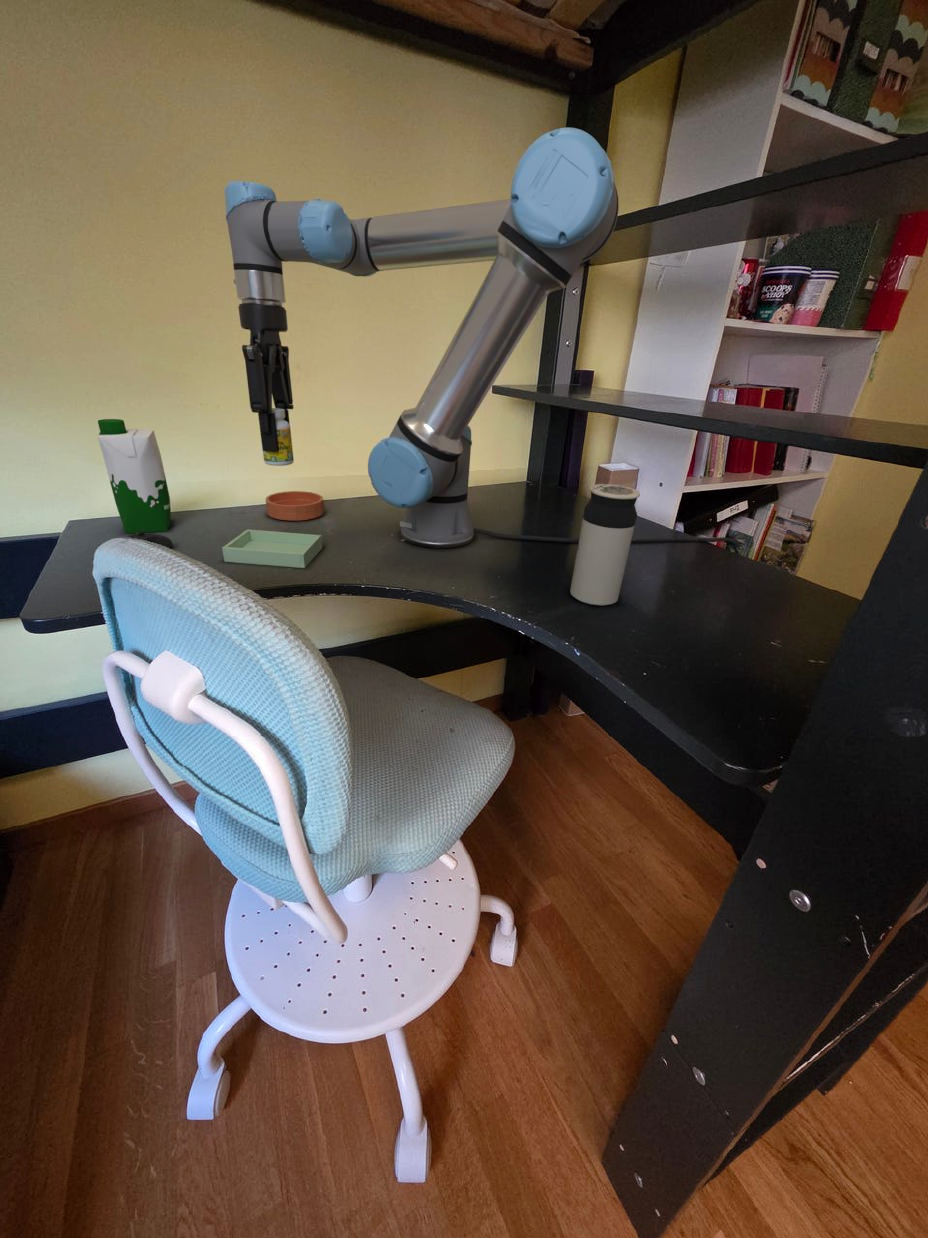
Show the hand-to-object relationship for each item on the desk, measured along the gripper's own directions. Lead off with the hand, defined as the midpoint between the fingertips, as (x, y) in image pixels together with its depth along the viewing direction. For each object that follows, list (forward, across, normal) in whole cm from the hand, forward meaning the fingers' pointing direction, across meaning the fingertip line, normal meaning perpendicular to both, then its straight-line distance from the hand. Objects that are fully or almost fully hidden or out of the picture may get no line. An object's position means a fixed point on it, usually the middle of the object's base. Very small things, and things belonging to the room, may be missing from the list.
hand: (277, 447), depth 96 cm
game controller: (+17, +17, -19) cm, 31 cm away
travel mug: (+17, +17, +60) cm, 64 cm away
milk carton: (+17, +4, -27) cm, 32 cm away
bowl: (+17, -13, -3) cm, 22 cm away
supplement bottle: (+3, 0, 0) cm, 3 cm away
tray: (+17, +12, +3) cm, 21 cm away
